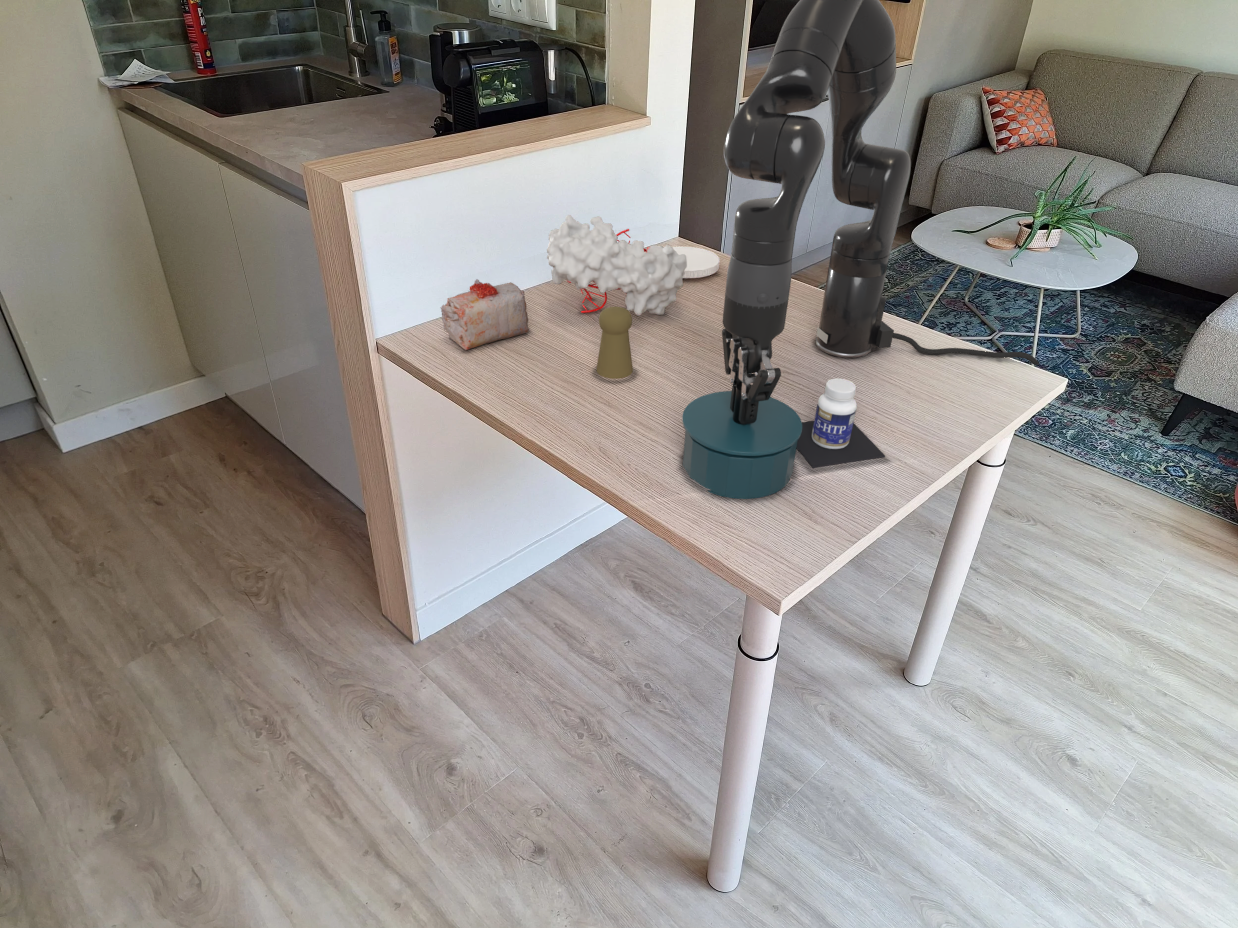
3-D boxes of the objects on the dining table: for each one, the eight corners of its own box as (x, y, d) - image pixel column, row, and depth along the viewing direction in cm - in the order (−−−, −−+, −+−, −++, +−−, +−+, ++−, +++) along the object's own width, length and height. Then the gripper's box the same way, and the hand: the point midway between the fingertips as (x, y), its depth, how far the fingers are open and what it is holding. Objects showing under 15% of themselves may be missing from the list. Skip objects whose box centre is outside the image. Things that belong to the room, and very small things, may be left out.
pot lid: (771, 391, 119) (776, 354, 116) (822, 450, 107) (829, 410, 103) (666, 405, 115) (668, 366, 112) (706, 467, 103) (710, 426, 100)
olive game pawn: (629, 384, 133) (631, 319, 127) (592, 379, 134) (592, 315, 128) (636, 366, 138) (638, 304, 132) (600, 362, 139) (600, 300, 133)
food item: (462, 355, 140) (456, 300, 135) (441, 338, 146) (435, 284, 140) (532, 336, 147) (530, 282, 142) (510, 320, 152) (507, 267, 147)
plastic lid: (637, 272, 172) (638, 260, 171) (673, 253, 182) (673, 241, 181) (697, 288, 166) (698, 276, 165) (730, 267, 176) (731, 255, 174)
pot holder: (846, 420, 125) (846, 415, 125) (884, 460, 117) (885, 455, 116) (778, 429, 123) (778, 425, 122) (812, 471, 114) (812, 466, 114)
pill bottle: (807, 445, 118) (817, 389, 113) (815, 427, 122) (824, 372, 117) (846, 453, 116) (857, 397, 111) (852, 435, 120) (863, 380, 115)
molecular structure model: (610, 322, 170) (509, 270, 154) (657, 241, 166) (559, 178, 150) (659, 360, 155) (553, 306, 139) (712, 271, 151) (609, 205, 135)
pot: (764, 432, 122) (769, 394, 118) (809, 490, 110) (817, 449, 107) (668, 445, 119) (671, 407, 115) (705, 506, 107) (709, 465, 104)
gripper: (812, 312, 96) (791, 440, 105) (762, 267, 107) (748, 387, 116) (751, 318, 94) (736, 448, 104) (707, 272, 105) (697, 394, 115)
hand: (742, 415), depth 110 cm, fingers closed on pot lid, 2 cm apart
